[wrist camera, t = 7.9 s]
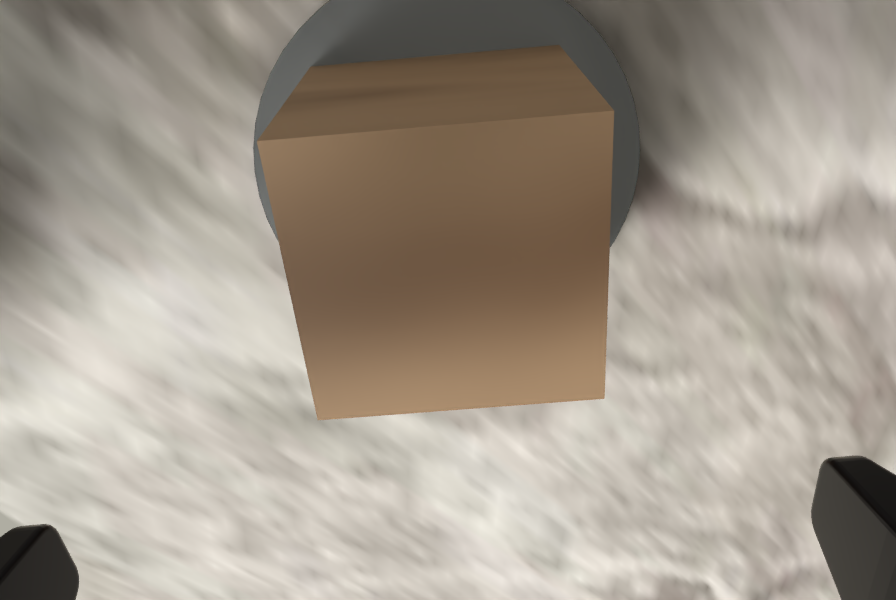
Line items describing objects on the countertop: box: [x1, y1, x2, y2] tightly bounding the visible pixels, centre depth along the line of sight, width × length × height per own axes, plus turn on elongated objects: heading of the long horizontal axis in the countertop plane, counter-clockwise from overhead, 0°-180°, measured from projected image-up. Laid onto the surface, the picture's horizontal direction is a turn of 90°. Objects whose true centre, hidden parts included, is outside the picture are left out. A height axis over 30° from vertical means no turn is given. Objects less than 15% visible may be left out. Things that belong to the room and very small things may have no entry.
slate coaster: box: [253, 0, 640, 247], centre depth 19 cm, size 10×10×1 cm
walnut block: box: [257, 45, 614, 420], centre depth 16 cm, size 6×6×6 cm
